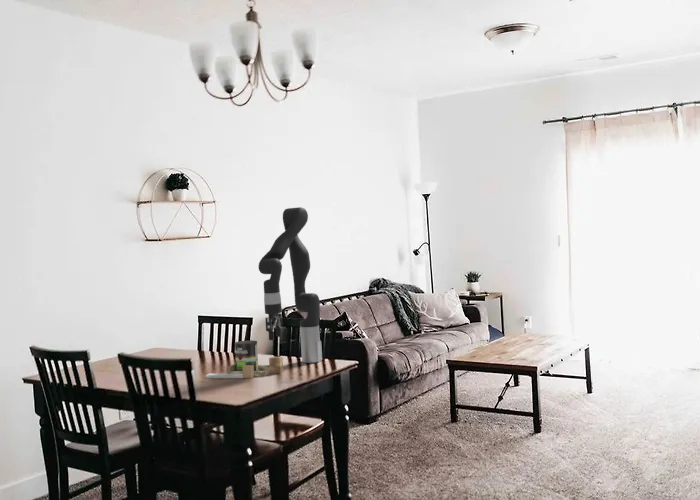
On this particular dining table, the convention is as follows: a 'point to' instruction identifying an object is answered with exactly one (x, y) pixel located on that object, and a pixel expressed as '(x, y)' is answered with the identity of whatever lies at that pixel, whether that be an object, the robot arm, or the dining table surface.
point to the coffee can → (246, 354)
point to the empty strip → (247, 373)
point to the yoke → (263, 367)
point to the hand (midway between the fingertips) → (275, 338)
